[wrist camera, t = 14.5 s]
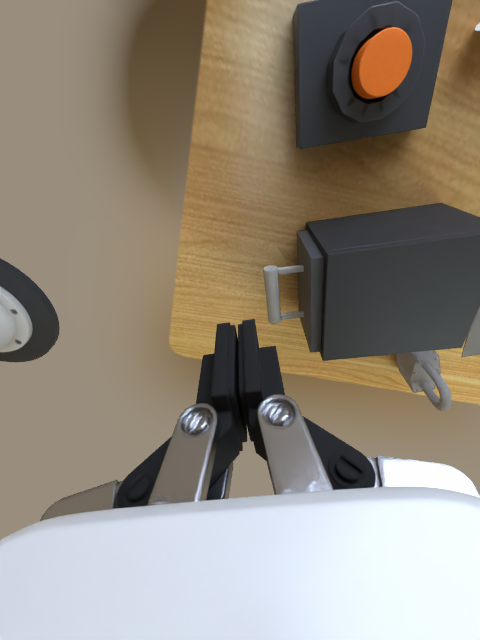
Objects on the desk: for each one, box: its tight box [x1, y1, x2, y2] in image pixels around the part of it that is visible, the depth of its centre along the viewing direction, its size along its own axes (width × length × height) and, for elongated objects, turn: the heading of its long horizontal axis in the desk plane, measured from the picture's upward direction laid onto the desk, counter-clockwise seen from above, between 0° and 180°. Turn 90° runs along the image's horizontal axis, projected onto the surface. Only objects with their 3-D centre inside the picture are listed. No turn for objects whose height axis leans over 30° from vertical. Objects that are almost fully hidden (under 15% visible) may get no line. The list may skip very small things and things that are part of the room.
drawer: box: [263, 230, 325, 352], centre depth 30 cm, size 18×11×8 cm, turn 98°
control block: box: [294, 0, 452, 149], centre depth 22 cm, size 11×9×4 cm
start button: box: [351, 27, 412, 99], centre depth 20 cm, size 4×4×2 cm
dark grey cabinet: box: [306, 203, 480, 361], centre depth 30 cm, size 15×13×10 cm
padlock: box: [396, 350, 451, 411], centre depth 38 cm, size 7×4×10 cm, turn 18°
